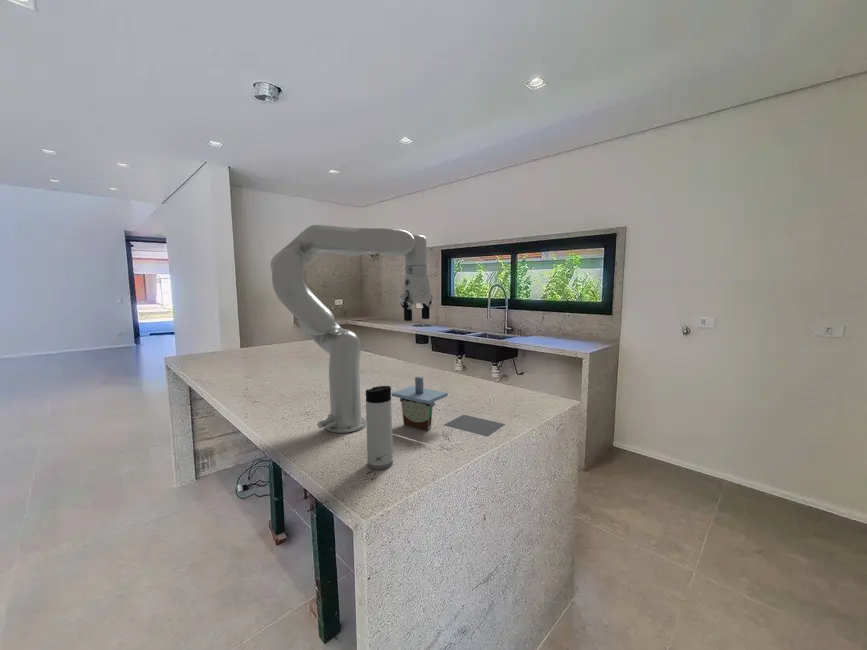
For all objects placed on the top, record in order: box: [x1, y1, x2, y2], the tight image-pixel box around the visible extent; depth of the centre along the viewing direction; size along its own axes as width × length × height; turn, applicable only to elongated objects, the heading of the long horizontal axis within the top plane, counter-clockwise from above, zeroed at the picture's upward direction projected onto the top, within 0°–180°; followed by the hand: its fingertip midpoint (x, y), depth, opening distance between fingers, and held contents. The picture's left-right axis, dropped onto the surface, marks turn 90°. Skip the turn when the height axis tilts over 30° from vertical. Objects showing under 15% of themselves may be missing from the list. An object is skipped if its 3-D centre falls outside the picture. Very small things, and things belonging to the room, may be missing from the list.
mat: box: [443, 414, 506, 437], centre depth 115 cm, size 12×16×1 cm
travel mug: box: [365, 385, 394, 471], centre depth 89 cm, size 6×7×20 cm
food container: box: [399, 398, 436, 432], centre depth 115 cm, size 12×6×10 cm, turn 58°
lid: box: [391, 376, 449, 404], centre depth 114 cm, size 10×15×6 cm, turn 54°
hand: (417, 319), depth 127 cm, fingers open, 9 cm apart
